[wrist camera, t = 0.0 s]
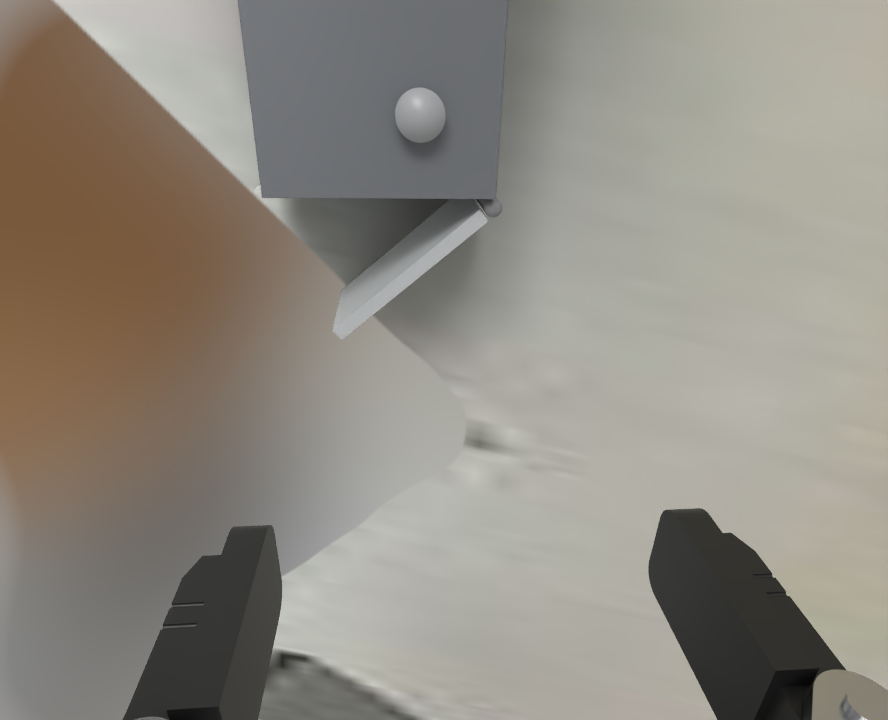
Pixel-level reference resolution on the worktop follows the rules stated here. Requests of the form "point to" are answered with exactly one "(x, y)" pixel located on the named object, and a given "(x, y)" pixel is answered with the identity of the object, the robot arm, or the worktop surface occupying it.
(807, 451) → the worktop surface
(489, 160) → the grey knobbed box
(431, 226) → the side door
